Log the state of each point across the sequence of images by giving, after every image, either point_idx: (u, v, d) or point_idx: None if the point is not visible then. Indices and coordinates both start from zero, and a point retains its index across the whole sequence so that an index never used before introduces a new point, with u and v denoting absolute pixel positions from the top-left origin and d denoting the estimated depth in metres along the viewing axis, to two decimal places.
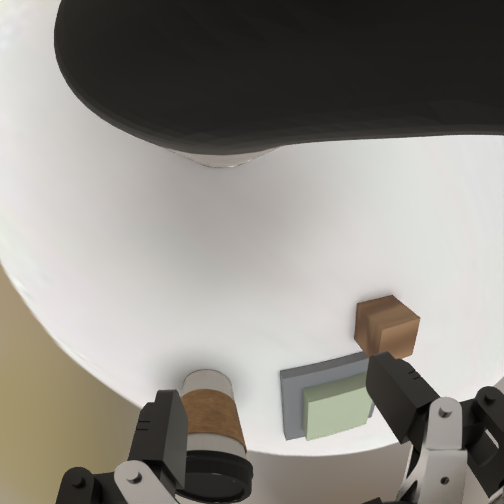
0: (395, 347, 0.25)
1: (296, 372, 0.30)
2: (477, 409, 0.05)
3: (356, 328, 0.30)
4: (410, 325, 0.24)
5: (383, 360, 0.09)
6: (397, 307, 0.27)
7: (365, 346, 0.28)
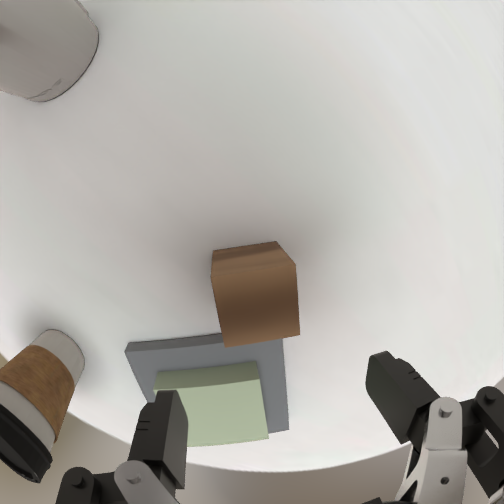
0: (253, 315, 0.17)
1: (144, 346, 0.22)
2: (477, 409, 0.05)
3: None
4: (275, 276, 0.16)
5: (383, 360, 0.09)
6: (267, 253, 0.19)
7: None
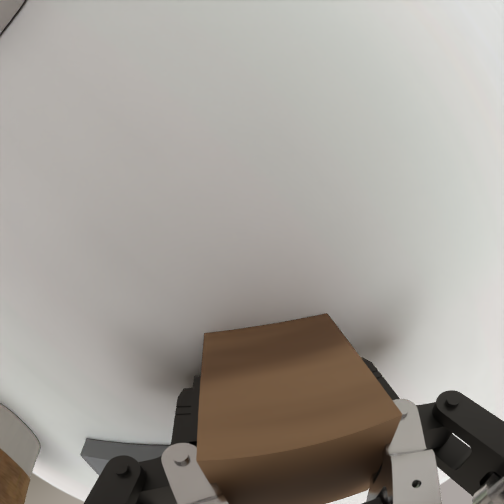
0: (293, 493, 0.06)
1: (107, 451, 0.11)
2: (439, 416, 0.06)
3: None
4: (354, 444, 0.05)
5: None
6: (323, 360, 0.08)
7: None
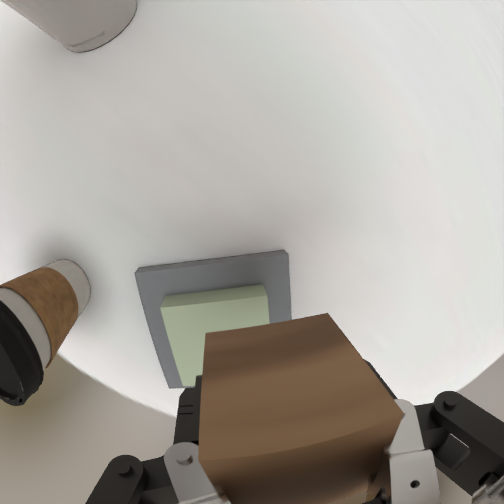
0: (294, 493, 0.06)
1: (154, 268, 0.24)
2: (437, 416, 0.06)
3: None
4: (355, 443, 0.05)
5: None
6: (325, 359, 0.08)
7: None
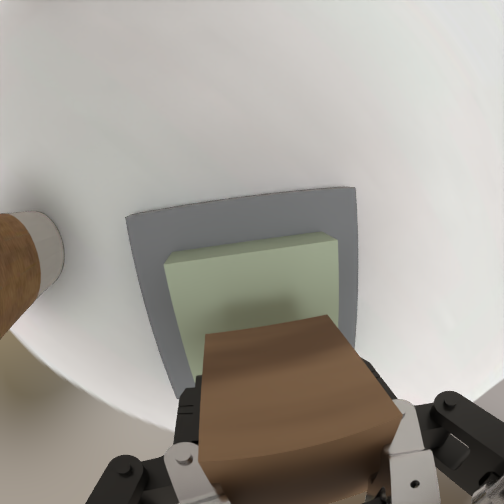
0: (294, 494, 0.06)
1: (156, 210, 0.16)
2: (437, 416, 0.06)
3: None
4: (354, 444, 0.05)
5: None
6: (324, 360, 0.08)
7: None
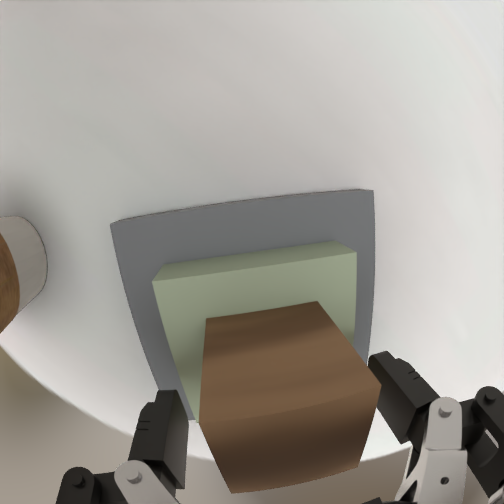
0: (286, 463, 0.07)
1: (145, 216, 0.13)
2: (476, 409, 0.05)
3: None
4: (338, 411, 0.06)
5: (383, 360, 0.09)
6: (312, 339, 0.09)
7: None
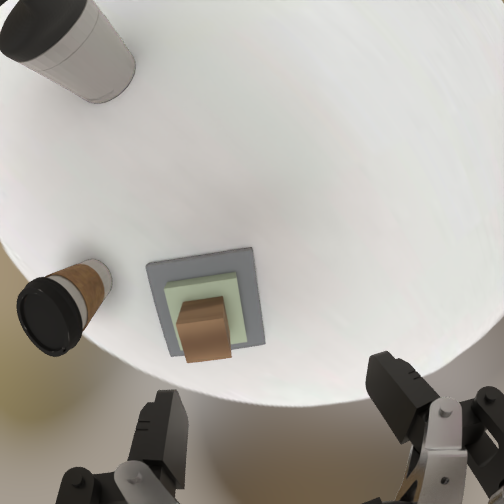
0: (201, 345, 0.28)
1: (159, 263, 0.34)
2: (477, 409, 0.05)
3: None
4: (211, 324, 0.27)
5: (383, 360, 0.09)
6: (212, 307, 0.30)
7: None
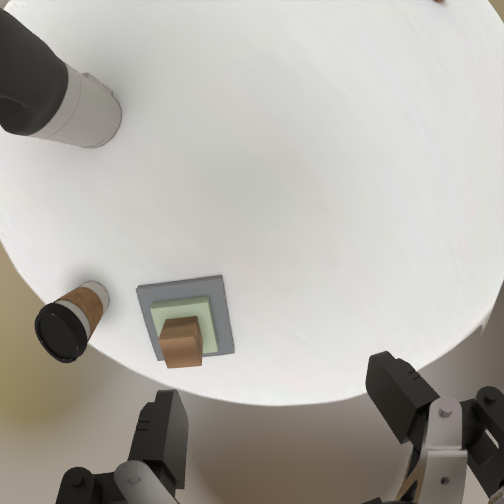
0: (178, 356, 0.35)
1: (147, 286, 0.41)
2: (477, 409, 0.05)
3: None
4: (185, 340, 0.34)
5: (383, 360, 0.09)
6: (187, 325, 0.37)
7: None
